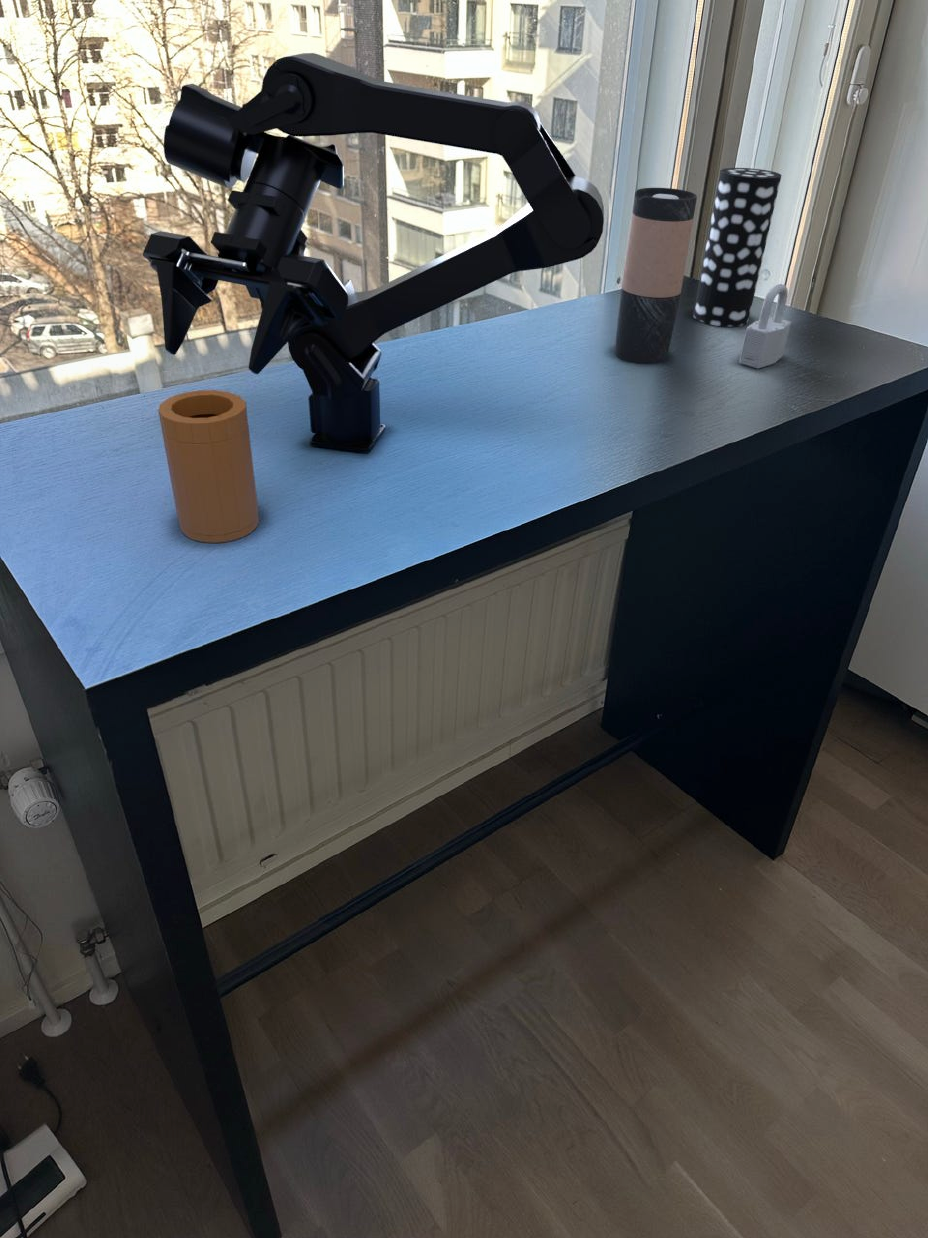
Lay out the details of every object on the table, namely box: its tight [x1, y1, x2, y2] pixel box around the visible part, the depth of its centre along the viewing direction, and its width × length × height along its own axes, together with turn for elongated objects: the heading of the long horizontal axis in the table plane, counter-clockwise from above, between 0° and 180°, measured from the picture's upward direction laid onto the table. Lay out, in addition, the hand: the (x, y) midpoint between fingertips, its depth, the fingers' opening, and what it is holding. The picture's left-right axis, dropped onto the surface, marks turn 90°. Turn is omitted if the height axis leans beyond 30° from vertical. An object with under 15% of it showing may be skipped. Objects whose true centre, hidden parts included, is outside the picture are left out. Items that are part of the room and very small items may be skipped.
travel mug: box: [614, 187, 698, 365], centre depth 111 cm, size 8×8×20 cm
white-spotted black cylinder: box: [692, 167, 783, 328], centre depth 126 cm, size 8×8×20 cm
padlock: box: [738, 283, 792, 370], centre depth 114 cm, size 7×4×10 cm, turn 137°
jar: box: [157, 389, 260, 544], centre depth 73 cm, size 7×7×11 cm
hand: (210, 361), depth 76 cm, fingers open, 9 cm apart
